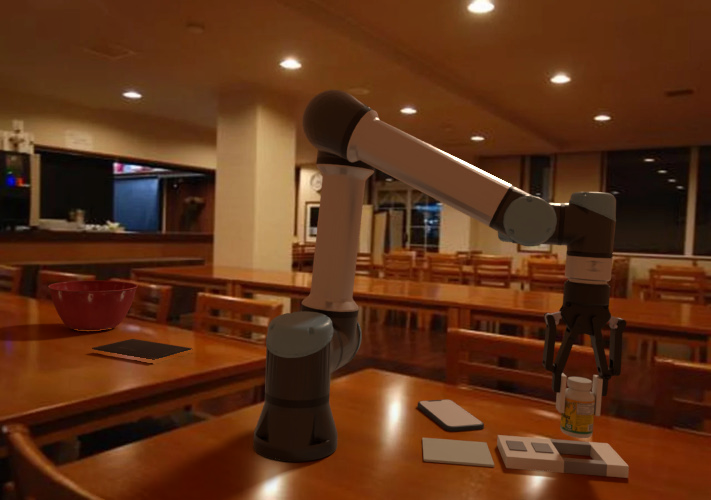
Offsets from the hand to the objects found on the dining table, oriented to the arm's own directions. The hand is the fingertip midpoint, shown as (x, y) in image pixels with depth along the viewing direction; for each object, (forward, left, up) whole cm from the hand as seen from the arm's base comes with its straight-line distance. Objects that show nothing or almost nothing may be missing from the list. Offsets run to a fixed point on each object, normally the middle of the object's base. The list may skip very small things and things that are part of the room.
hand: (577, 411), depth 99 cm
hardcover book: (-107, +55, -10) cm, 121 cm away
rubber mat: (-21, 0, -9) cm, 23 cm away
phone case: (-21, +19, -10) cm, 30 cm away
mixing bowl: (-140, +85, -9) cm, 164 cm away
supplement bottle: (0, 0, -4) cm, 4 cm away
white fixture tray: (-3, 0, -9) cm, 9 cm away
